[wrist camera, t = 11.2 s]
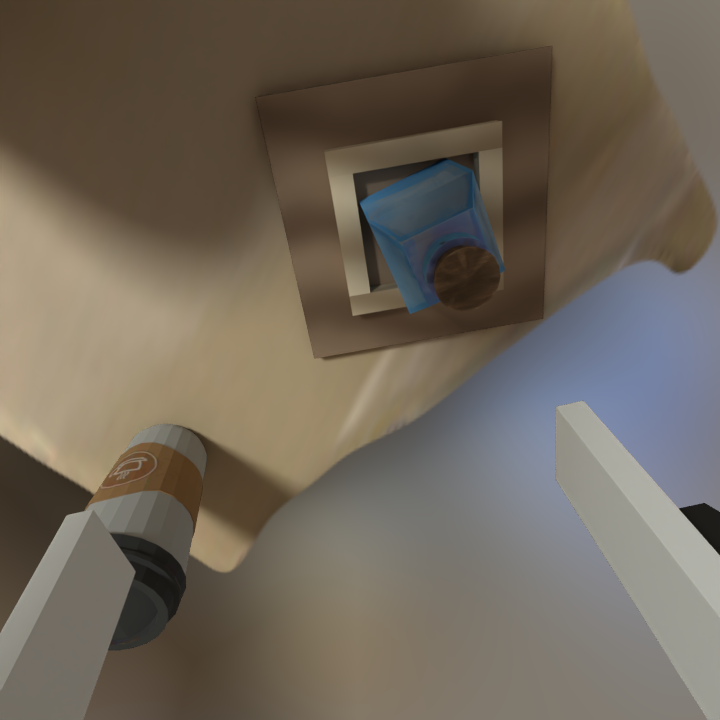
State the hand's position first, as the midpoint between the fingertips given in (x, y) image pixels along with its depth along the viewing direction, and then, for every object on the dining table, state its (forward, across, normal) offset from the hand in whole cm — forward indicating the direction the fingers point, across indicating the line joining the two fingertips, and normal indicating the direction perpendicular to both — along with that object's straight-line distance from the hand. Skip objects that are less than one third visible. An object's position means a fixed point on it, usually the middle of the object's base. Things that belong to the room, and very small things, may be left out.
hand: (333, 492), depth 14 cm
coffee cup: (+24, -17, -14) cm, 32 cm away
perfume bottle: (+23, +7, +1) cm, 24 cm away
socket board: (+24, +7, +1) cm, 25 cm away
